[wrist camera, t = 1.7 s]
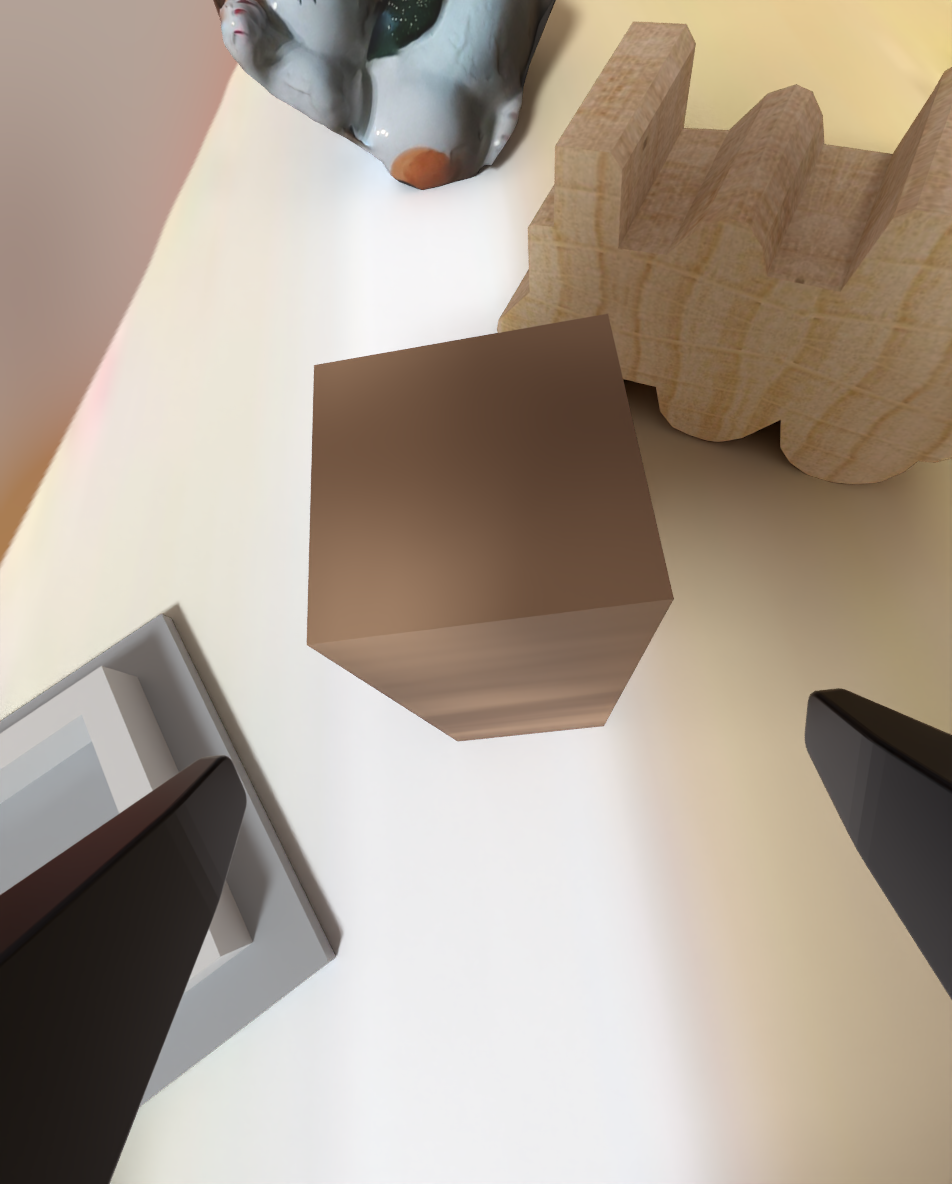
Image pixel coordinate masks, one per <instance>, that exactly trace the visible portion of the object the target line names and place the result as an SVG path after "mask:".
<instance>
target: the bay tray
mask: <svg viewBox="0 0 952 1184" xmlns="http://www.w3.org/2000/svg"><path fill="white" fill-rule="evenodd" d="M217 755H226V756H228V757H229V758H230V759H231V760H232V762H233V764H234V766H235V768H236V771H237V773H238V775H239V778H240V780H241V782H242V785H243V787H244V790H245V792H246V797H247V804H246V810H245V814H244V817H243V821H242V824H241V828H240V831H239V835H238V839H237V842H236V846H235V849H234V853H233V856H232V860H231V863H230V867H229V870H228V874H227V877H226V881H225V885H224V888H223V891H222V894H221V897H220V900H219V903H218V906H217V909H216V911H215V914H214V917H213V919H212V922H211V925H210V927H209V930H208V932H207V935H206V937H205V940H204V943H203V945H202V948H201V950H200V953H199V955H198V958H197V961H196V963H195V966H194V968H193V971H192V973H191V976H190V978H189V981H188V984H187V986H186V989H185V991H184V994H183V996H182V999H181V1002H180V1004H179V1007H178V1009H177V1012H176V1014H175V1017H174V1019H173V1022H172V1025H171V1027H170V1030H169V1032H168V1035H167V1037H166V1040H165V1043H164V1045H163V1048H162V1050H161V1053H160V1055H159V1058H158V1061H157V1063H156V1066H155V1068H154V1071H153V1073H152V1076H151V1078H150V1081H149V1084H148V1086H147V1089H146V1091H145V1094H144V1096H143V1099H142V1102H141V1104H140V1107H141V1106H142V1105H143V1104H144V1103H146V1102H147V1101H148V1100H150V1099H151V1098H152V1097H154V1096H155V1095H156V1094H158V1093H159V1092H160V1091H161V1090H163V1089H164V1088H165V1087H167V1086H168V1085H169V1084H171V1083H172V1082H173V1081H175V1080H176V1079H177V1078H178V1077H180V1076H181V1075H182V1074H184V1073H185V1072H186V1071H188V1070H189V1069H190V1068H192V1067H193V1066H194V1065H195V1064H197V1063H198V1062H199V1061H201V1060H202V1059H203V1058H205V1057H206V1056H207V1055H209V1054H210V1053H211V1052H212V1051H214V1050H215V1049H216V1048H218V1047H219V1046H220V1045H222V1044H223V1043H224V1042H226V1041H227V1040H228V1039H229V1038H231V1037H232V1036H233V1035H235V1034H236V1033H237V1032H239V1031H240V1030H241V1029H243V1028H244V1027H245V1026H246V1025H248V1024H249V1023H250V1022H252V1021H253V1020H254V1019H256V1018H257V1017H258V1016H260V1015H261V1014H262V1013H264V1012H265V1011H266V1010H267V1009H269V1008H270V1007H271V1006H273V1005H274V1004H275V1003H277V1002H278V1001H279V1000H281V999H282V998H283V997H284V996H286V995H287V994H288V993H290V992H291V991H292V990H294V989H295V988H296V987H298V986H299V985H300V984H301V983H303V982H304V981H305V980H307V979H308V978H309V977H311V976H312V975H313V974H315V973H316V972H317V971H318V970H320V969H321V968H322V967H324V966H325V965H326V964H328V963H329V962H330V961H332V960H333V959H334V958H335V957H336V956H335V954H334V952H333V950H332V948H331V946H330V943H329V941H328V939H327V937H326V935H325V933H324V931H323V929H322V927H321V925H320V923H319V921H318V919H317V917H316V915H315V913H314V911H313V909H312V907H311V904H310V902H309V900H308V898H307V896H306V894H305V892H304V890H303V888H302V886H301V884H300V882H299V880H298V878H297V876H296V874H295V872H294V870H293V868H292V865H291V863H290V861H289V859H288V857H287V855H286V853H285V851H284V849H283V847H282V845H281V843H280V841H279V839H278V837H277V835H276V833H275V831H274V829H273V826H272V824H271V822H270V820H269V818H268V816H267V814H266V812H265V810H264V808H263V806H262V804H261V802H260V800H259V798H258V796H257V794H256V792H255V789H254V787H253V785H252V783H251V781H250V779H249V777H248V775H247V773H246V771H245V769H244V767H243V765H242V763H241V761H240V759H239V757H238V755H237V753H236V750H235V748H234V746H233V744H232V742H231V740H230V738H229V736H228V734H227V732H226V730H225V728H224V726H223V724H222V722H221V720H220V718H219V716H218V714H217V711H216V709H215V707H214V705H213V703H212V701H211V699H210V697H209V695H208V693H207V691H206V689H205V687H204V685H203V683H202V681H201V679H200V677H199V675H198V672H197V670H196V668H195V666H194V664H193V662H192V660H191V658H190V656H189V654H188V652H187V650H186V648H185V646H184V644H183V642H182V640H181V638H180V636H179V633H178V631H177V629H176V627H175V625H174V623H173V621H172V619H171V618H169V617H167V616H165V615H163V614H160V615H159V616H157V617H156V618H154V619H153V620H151V621H150V622H148V623H147V624H145V625H144V626H142V627H141V628H139V629H138V630H136V631H135V632H133V633H132V634H130V635H129V636H127V637H126V638H124V639H123V640H121V641H120V642H118V643H117V644H115V645H114V646H112V647H111V648H109V649H108V650H106V651H105V652H103V653H102V654H100V655H99V656H97V657H96V658H94V659H93V660H91V661H90V662H88V663H87V664H85V665H84V666H82V667H81V668H79V669H78V670H76V671H75V672H73V673H72V674H70V675H69V676H67V677H66V678H64V679H63V680H61V681H60V682H58V683H57V684H55V685H54V686H52V687H51V688H49V689H48V690H46V691H45V692H43V693H42V694H40V695H39V696H37V697H36V698H34V699H33V700H31V701H30V702H28V703H27V704H25V705H24V706H22V707H21V708H19V709H18V710H16V711H15V712H13V713H12V714H10V715H9V716H7V717H6V718H4V719H3V720H1V721H0V895H1V894H2V893H4V892H5V891H7V890H8V889H10V888H11V887H12V886H14V885H15V884H17V883H18V882H20V881H21V880H23V879H24V878H26V877H27V876H29V875H30V874H31V873H33V872H34V871H36V870H37V869H39V868H40V867H42V866H43V865H45V864H46V863H48V862H49V861H50V860H52V859H53V858H55V857H56V856H58V855H59V854H61V853H62V852H64V851H65V850H67V849H68V848H69V847H71V846H72V845H74V844H75V843H77V842H78V841H80V840H81V839H83V838H84V837H86V836H87V835H88V834H90V833H91V832H93V831H94V830H96V829H97V828H99V827H100V826H102V825H103V824H105V823H106V822H107V821H109V820H110V819H112V818H113V817H115V816H116V815H118V814H119V813H121V812H122V811H124V810H125V809H126V808H128V807H129V806H131V805H132V804H134V803H135V802H137V801H138V800H140V799H141V798H143V797H144V796H145V795H147V794H148V793H150V792H151V791H153V790H154V789H156V788H157V787H159V786H160V785H162V784H163V783H164V782H166V781H167V780H169V779H170V778H172V777H173V776H175V775H176V774H178V773H179V772H181V771H182V770H184V769H185V768H186V767H188V766H189V765H191V764H192V763H194V762H195V761H197V760H198V759H200V758H202V757H207V756H217Z"/></svg>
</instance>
